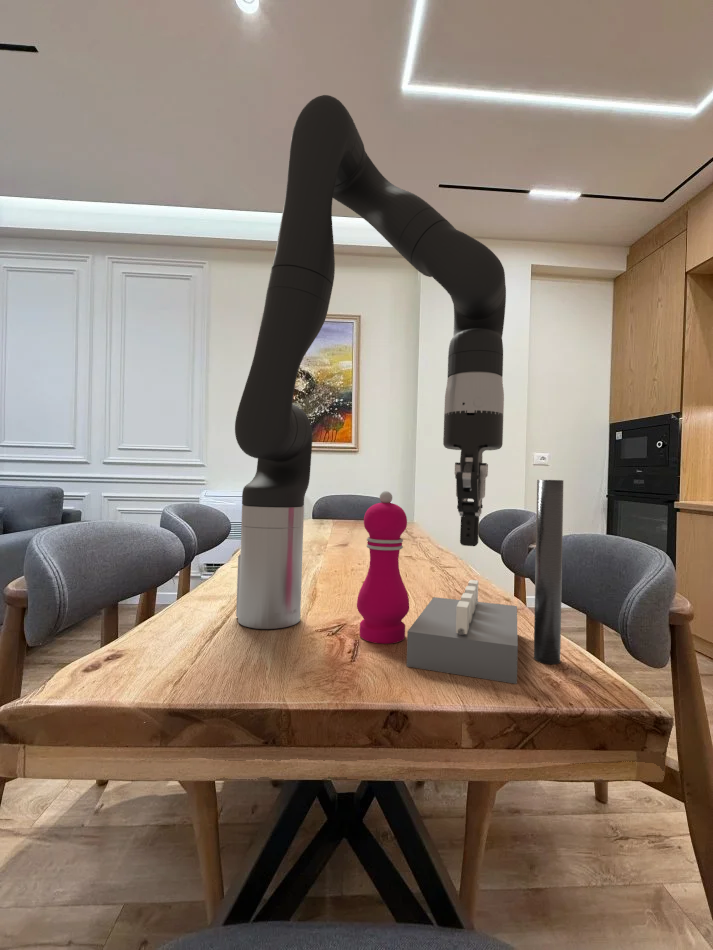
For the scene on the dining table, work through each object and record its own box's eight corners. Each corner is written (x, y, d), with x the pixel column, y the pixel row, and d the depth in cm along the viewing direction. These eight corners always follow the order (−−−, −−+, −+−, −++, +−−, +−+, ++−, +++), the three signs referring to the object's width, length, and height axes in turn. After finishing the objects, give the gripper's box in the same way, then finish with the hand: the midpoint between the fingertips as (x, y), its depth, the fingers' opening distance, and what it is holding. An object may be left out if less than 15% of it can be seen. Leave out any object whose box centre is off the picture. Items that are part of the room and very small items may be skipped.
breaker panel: (406, 666, 53) (407, 631, 53) (432, 623, 70) (433, 597, 70) (516, 683, 49) (517, 646, 49) (516, 633, 66) (516, 606, 66)
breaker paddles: (455, 634, 52) (456, 606, 52) (469, 601, 67) (469, 579, 67) (466, 636, 51) (467, 607, 52) (477, 602, 67) (478, 580, 67)
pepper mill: (405, 647, 59) (410, 492, 59) (351, 642, 60) (355, 490, 61) (410, 630, 66) (414, 491, 66) (361, 626, 67) (365, 490, 68)
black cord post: (529, 658, 56) (532, 479, 57) (540, 653, 58) (543, 480, 59) (554, 666, 54) (557, 479, 55) (564, 660, 56) (567, 480, 57)
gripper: (451, 420, 67) (447, 538, 67) (436, 404, 55) (431, 549, 55) (504, 419, 65) (500, 542, 65) (502, 403, 53) (497, 554, 52)
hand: (469, 545), depth 60 cm, fingers closed
